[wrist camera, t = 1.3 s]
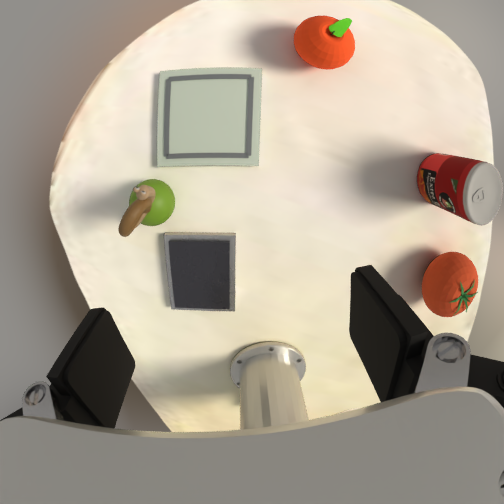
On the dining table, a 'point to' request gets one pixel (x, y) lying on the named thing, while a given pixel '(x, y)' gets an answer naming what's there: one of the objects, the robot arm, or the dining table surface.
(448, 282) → the tomato
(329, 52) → the clementine
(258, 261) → the dining table surface
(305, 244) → the dining table surface
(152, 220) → the snail figurine
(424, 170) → the canned food
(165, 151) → the board
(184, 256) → the ink pad
